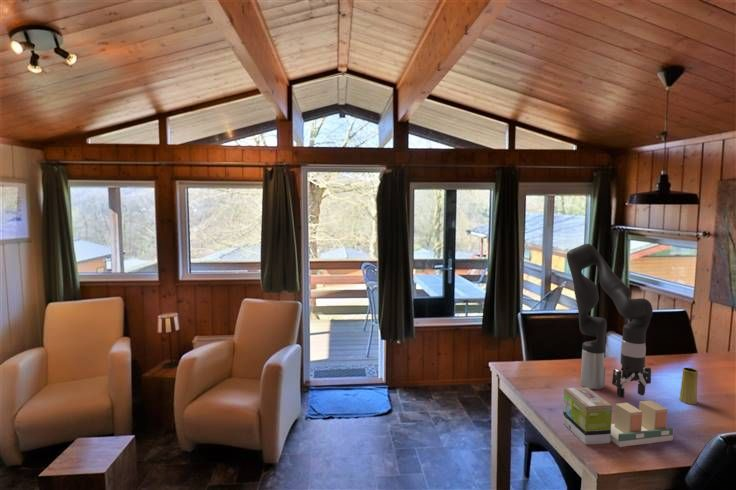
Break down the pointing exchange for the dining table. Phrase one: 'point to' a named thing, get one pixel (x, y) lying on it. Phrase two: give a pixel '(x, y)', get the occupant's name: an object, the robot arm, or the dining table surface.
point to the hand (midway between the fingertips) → (630, 395)
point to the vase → (689, 386)
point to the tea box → (587, 415)
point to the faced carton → (653, 415)
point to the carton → (627, 418)
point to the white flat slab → (640, 436)
